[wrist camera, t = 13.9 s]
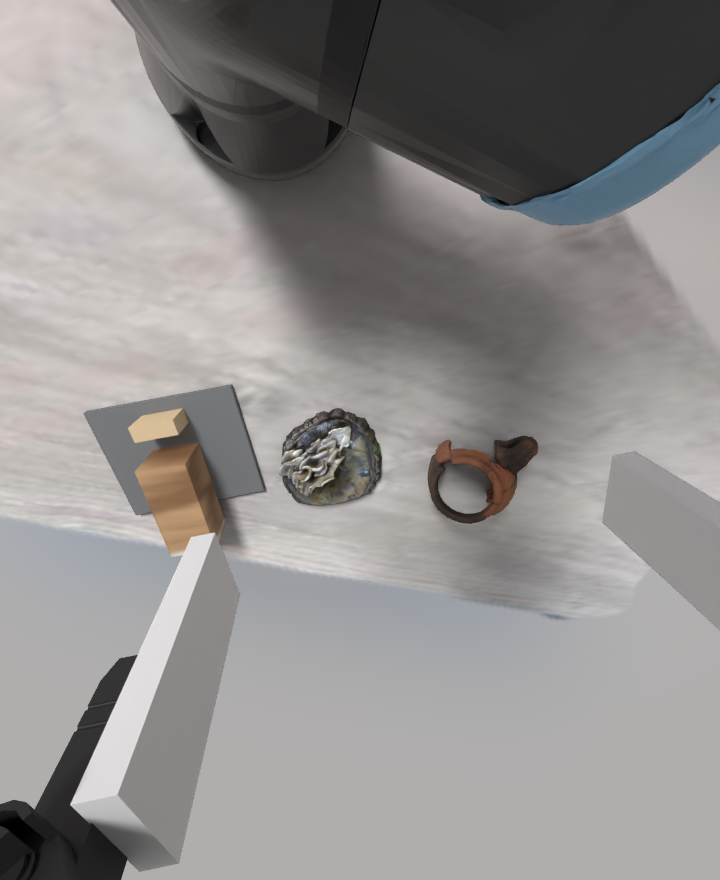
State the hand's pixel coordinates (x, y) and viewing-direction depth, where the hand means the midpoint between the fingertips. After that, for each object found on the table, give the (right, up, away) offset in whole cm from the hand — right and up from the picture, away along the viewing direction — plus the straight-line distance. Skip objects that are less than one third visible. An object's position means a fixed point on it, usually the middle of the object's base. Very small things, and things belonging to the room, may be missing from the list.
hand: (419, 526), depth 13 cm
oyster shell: (-5, +1, +29) cm, 30 cm away
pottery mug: (+11, +1, +31) cm, 33 cm away
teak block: (-20, +1, +24) cm, 31 cm away
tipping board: (-20, +2, +27) cm, 34 cm away
